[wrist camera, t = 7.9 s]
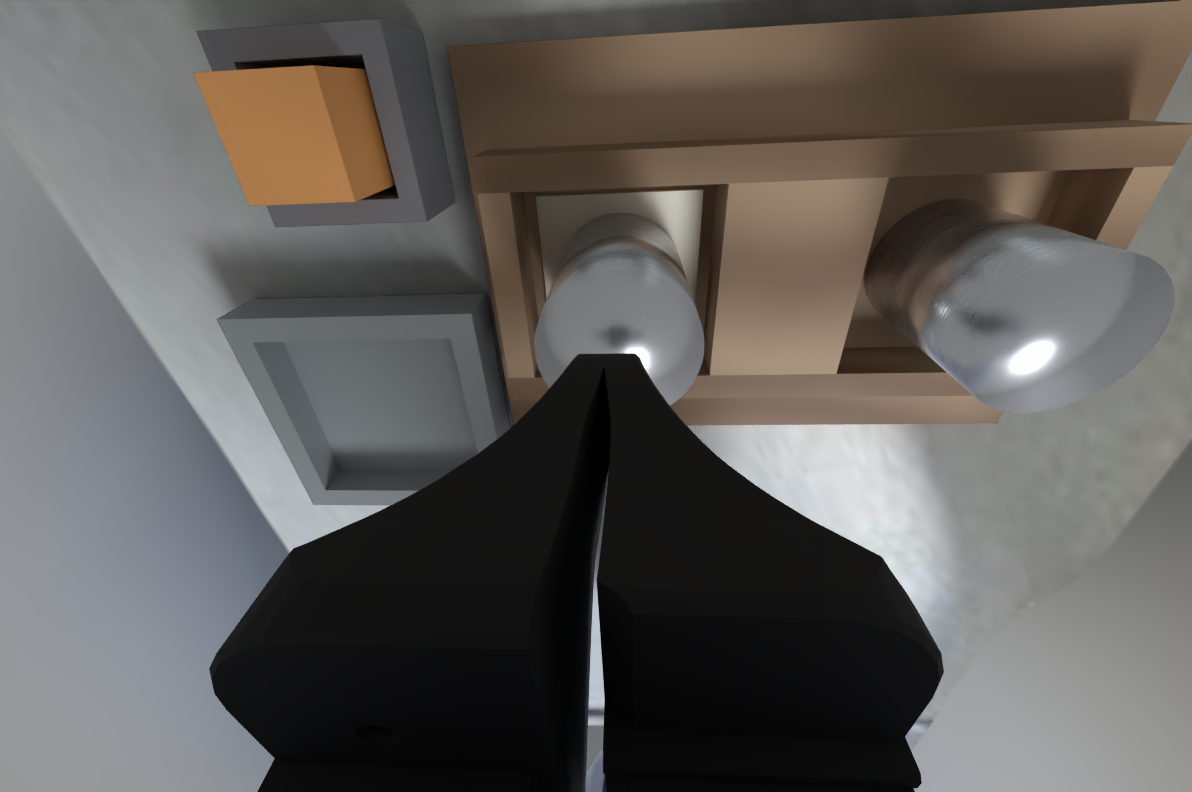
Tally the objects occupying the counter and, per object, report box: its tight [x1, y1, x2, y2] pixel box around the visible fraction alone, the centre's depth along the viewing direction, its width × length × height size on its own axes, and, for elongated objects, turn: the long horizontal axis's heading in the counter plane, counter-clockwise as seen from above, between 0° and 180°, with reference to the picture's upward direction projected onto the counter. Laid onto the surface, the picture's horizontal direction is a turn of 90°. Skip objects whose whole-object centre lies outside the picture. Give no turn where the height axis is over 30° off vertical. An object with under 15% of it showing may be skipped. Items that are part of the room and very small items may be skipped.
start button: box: [193, 65, 395, 206], centre depth 13 cm, size 3×3×3 cm
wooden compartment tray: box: [447, 0, 1192, 425], centre depth 17 cm, size 14×21×3 cm, turn 93°
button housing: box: [196, 19, 455, 227], centre depth 15 cm, size 5×5×3 cm
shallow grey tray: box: [216, 293, 510, 505], centre depth 21 cm, size 10×10×2 cm
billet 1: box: [534, 213, 705, 405], centre depth 15 cm, size 4×4×6 cm
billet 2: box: [865, 198, 1174, 413], centre depth 14 cm, size 4×4×6 cm
